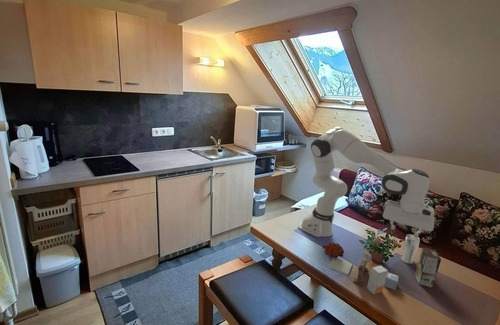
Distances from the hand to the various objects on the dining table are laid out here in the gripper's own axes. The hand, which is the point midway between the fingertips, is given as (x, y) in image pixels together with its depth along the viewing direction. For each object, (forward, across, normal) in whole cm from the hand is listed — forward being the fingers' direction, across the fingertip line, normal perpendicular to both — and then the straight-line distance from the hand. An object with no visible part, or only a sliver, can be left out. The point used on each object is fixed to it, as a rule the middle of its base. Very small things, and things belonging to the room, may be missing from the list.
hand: (404, 232), depth 123 cm
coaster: (+29, -24, -1) cm, 38 cm away
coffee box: (+29, +14, +15) cm, 36 cm away
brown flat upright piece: (+29, -13, -2) cm, 32 cm away
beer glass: (+29, +6, +29) cm, 42 cm away
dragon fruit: (+29, -30, +4) cm, 41 cm away
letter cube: (+29, 0, 0) cm, 29 cm away
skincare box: (+29, -6, -9) cm, 31 cm away
